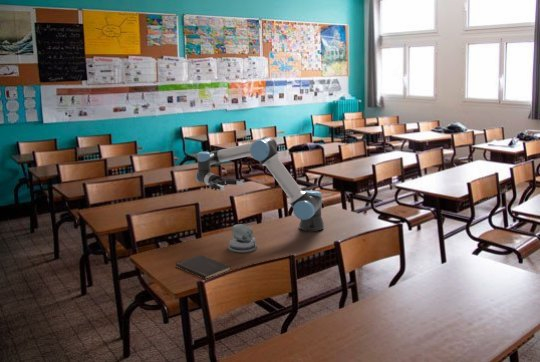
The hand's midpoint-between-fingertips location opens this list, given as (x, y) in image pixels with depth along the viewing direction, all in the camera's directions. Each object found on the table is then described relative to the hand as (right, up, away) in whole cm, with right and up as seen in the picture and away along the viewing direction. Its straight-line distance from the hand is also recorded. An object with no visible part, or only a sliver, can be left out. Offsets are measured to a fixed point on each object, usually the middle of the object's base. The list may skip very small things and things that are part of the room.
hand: (234, 186), depth 293 cm
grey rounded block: (+5, -29, -11) cm, 31 cm away
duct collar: (+5, -33, -10) cm, 35 cm away
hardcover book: (-13, -41, -37) cm, 56 cm away
